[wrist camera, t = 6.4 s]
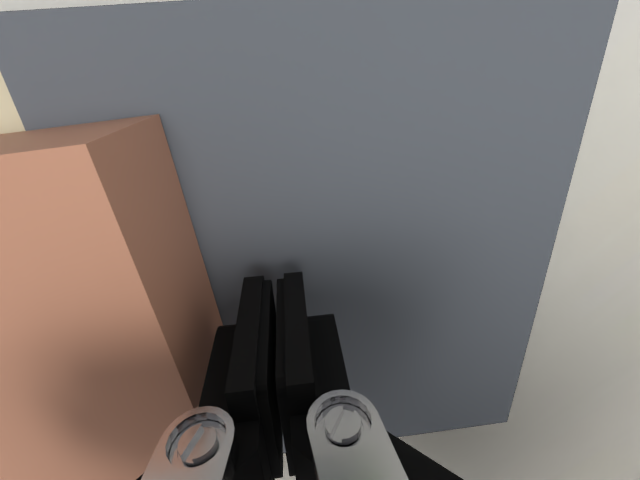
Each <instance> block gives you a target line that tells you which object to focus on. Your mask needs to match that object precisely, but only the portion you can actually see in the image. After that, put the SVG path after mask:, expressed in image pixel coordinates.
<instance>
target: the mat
mask: <svg viewBox="0 0 640 480" xmlns="http://www.w3.org/2000/svg"><path fill="white" fill-rule="evenodd" d="M618 1H619V0H184V1H168V2H151V3H135V4H118V5H102V6H85V7H69V8H52V9H36V10H19V11H3V12H0V134H6V133H14V132H22V131H30V130H38V129H45V128H53V127H61V126H69V125H77V124H84V123H92V122H100V121H108V120H116V119H124V118H131V117H139V116H147V115H155V114H159V116H160V119H161V123H162V126H163V129H164V132H165V136H166V139H167V142H168V146H169V149H170V152H171V156H172V159H173V162H174V165H175V169H176V172H177V175H178V179H179V182H180V185H181V188H182V192H183V195H184V198H185V202H186V205H187V208H188V212H189V215H190V218H191V221H192V225H193V228H194V231H195V235H196V238H197V241H198V244H199V248H200V251H201V254H202V258H203V261H204V264H205V268H206V271H207V274H208V277H209V281H210V284H211V287H212V291H213V294H214V297H215V301H216V304H217V307H218V310H219V314H220V317H221V320H222V324H223V326H224V325H234V324H236V321H237V315H238V309H239V303H240V297H241V291H242V285H243V279H244V277H253V276H264V280H271V281H272V287H273V295H274V302H275V309H276V293H277V279H282V278H284V273H292V272H302V273H303V283H304V292H305V301H306V310H307V316H316V315H325V314H334V317H335V321H336V326H337V331H338V335H339V340H340V345H341V349H342V354H343V358H344V363H345V368H346V372H347V377H348V382H349V386H350V390H351V391H355V392H357V393H359V394H362V395H364V396H365V397H366V398H367V399H368V400H370V401H371V402H372V404H373V405H374V407H375V408H376V410H377V412H378V414H379V416H380V418H381V421H382V423H383V425H384V427H385V429H386V431H388V432H389V433H391V434H392V435H394V436H395V437H402V436H409V435H417V434H424V433H431V432H438V431H445V430H452V429H459V428H467V427H474V426H481V425H488V424H495V423H502V422H507V420H508V416H509V412H510V408H511V405H512V401H513V397H514V393H515V389H516V386H517V382H518V378H519V374H520V371H521V367H522V363H523V359H524V356H525V352H526V348H527V344H528V340H529V337H530V333H531V329H532V325H533V322H534V318H535V314H536V310H537V307H538V303H539V299H540V295H541V291H542V288H543V284H544V280H545V276H546V273H547V269H548V265H549V261H550V258H551V254H552V250H553V246H554V242H555V239H556V235H557V231H558V227H559V224H560V220H561V216H562V212H563V208H564V205H565V201H566V197H567V193H568V190H569V186H570V182H571V178H572V175H573V171H574V167H575V163H576V159H577V156H578V152H579V148H580V144H581V141H582V137H583V133H584V129H585V126H586V122H587V118H588V114H589V110H590V107H591V103H592V99H593V95H594V92H595V88H596V84H597V80H598V77H599V73H600V69H601V65H602V61H603V58H604V54H605V50H606V46H607V43H608V39H609V35H610V31H611V28H612V24H613V20H614V16H615V12H616V9H617V5H618ZM283 453H286V451H285V444H284V438H283Z"/></svg>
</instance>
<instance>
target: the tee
mask: <svg viewBox="0 0 640 480" xmlns="http://www.w3.org/2000/svg"><path fill="white" fill-rule="evenodd" d="M219 326H223V324H222V320H221V317H220V314H219V310H218V307H217V304H216V301H215V297H214V294H213V291H212V287H211V284H210V281H209V277H208V274H207V271H206V268H205V264H204V261H203V258H202V254H201V251H200V248H199V244H198V241H197V238H196V235H195V231H194V228H193V225H192V221H191V218H190V215H189V212H188V208H187V205H186V202H185V198H184V195H183V192H182V188H181V185H180V182H179V179H178V175H177V172H176V169H175V165H174V162H173V159H172V156H171V152H170V149H169V146H168V142H167V139H166V136H165V132H164V129H163V126H162V123H161V119H160V116H159V114H155V115H147V116H139V117H131V118H124V119H116V120H108V121H100V122H92V123H84V124H77V125H69V126H61V127H53V128H45V129H38V130H30V131H22V132H14V133H6V134H0V480H136V479H137V478H139V477H140V476H141V475H142V474H143V473H144V472H145V470H146V467H147V465H148V463H149V461H150V459H151V457H152V455H153V453H154V450H155V448H156V446H157V444H158V442H159V440H160V438H161V436H162V435H163V433H164V431H165V430H166V428H167V427H168V426H169V425H170V424H171V423H172V422H173V421H174V420H175V419H176V418H178V417H179V416H181V415H182V414H184V413H185V412H187V411H189V410H192V409H195V408H197V407H198V406H199V402H200V398H201V393H202V389H203V385H204V381H205V376H206V372H207V368H208V364H209V360H210V355H211V351H212V347H213V343H214V338H215V334H216V330H217V328H218V327H219Z"/></svg>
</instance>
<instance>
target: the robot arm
mask: <svg viewBox="0 0 640 480" xmlns="http://www.w3.org/2000/svg"><path fill="white" fill-rule="evenodd" d="M283 438H284V444H285V451H286V457H287V463H288V470H289V475H290V476H296V480H463V479H462V478H460V477H458V476H457V475H455V474H454V473H452V472H451V471H449V470H447V469H446V468H444V467H443V466H441V465H440V464H438V463H436V462H435V461H433V460H432V459H430V458H429V457H427V456H425V455H424V454H422V453H421V452H419V451H417V450H416V449H414V448H413V447H411V446H410V445H408V444H406V443H405V442H403V441H402V440H400V439H399V438H397V437H395V436H394V435H392V434H391V433H389V432H388V431H386V429H385V427H384V425H383V423H382V421H381V418H380V416H379V414H378V412H377V410H376V408H375V407H374V405H373V404H372V402H371V401H370V400H368V399H367V398H366V397H365V396H364V395H362V394H359V393H357V392H355V391H351V390H350V386H349V382H348V377H347V372H346V368H345V363H344V358H343V354H342V349H341V345H340V340H339V335H338V331H337V326H336V321H335V317H334V314H325V315H316V316H307V310H306V301H305V292H304V283H303V273H302V272H292V273H284V278H282V279H277V293H276V309H275V302H274V295H273V287H272V281H271V280H264V276H253V277H244V279H243V285H242V291H241V297H240V303H239V309H238V315H237V321H236V324H234V325H224V326H219V327H218V328H217V330H216V334H215V338H214V343H213V347H212V351H211V355H210V360H209V364H208V368H207V372H206V376H205V381H204V385H203V389H202V393H201V398H200V402H199V406H198V407H197V408H195V409H192V410H189V411H187V412H185V413H184V414H182V415H181V416H179V417H178V418H176V419H175V420H174V421H173V422H172V423H171V424H170V425H169V426H168V427H167V428H166V430H165V431H164V433H163V435H162V436H161V438H160V440H159V442H158V444H157V446H156V448H155V450H154V453H153V455H152V457H151V459H150V461H149V463H148V465H147V467H146V470H145V472H144V473H143V474H142V475H141V476H140V477H139V478H137V479H136V480H275V478H281V477H283Z"/></svg>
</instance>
